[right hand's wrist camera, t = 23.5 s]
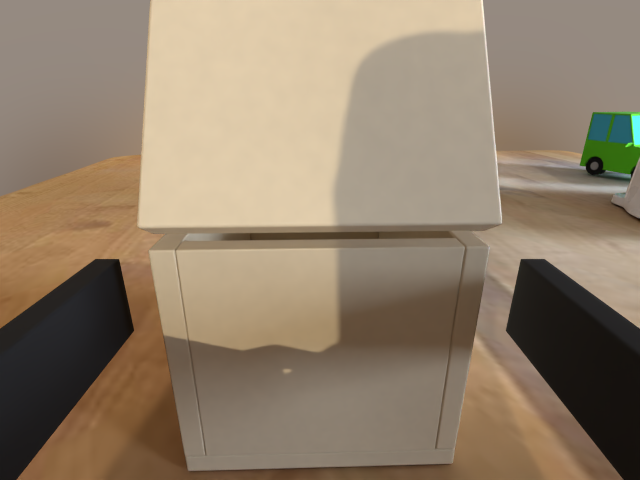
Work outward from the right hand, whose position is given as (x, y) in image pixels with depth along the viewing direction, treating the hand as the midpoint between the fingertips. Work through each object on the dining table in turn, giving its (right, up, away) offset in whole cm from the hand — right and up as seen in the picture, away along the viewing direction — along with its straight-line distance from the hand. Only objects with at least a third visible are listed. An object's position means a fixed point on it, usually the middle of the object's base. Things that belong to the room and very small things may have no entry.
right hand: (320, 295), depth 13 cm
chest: (0, -4, +8) cm, 9 cm away
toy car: (+51, +12, +49) cm, 72 cm away
